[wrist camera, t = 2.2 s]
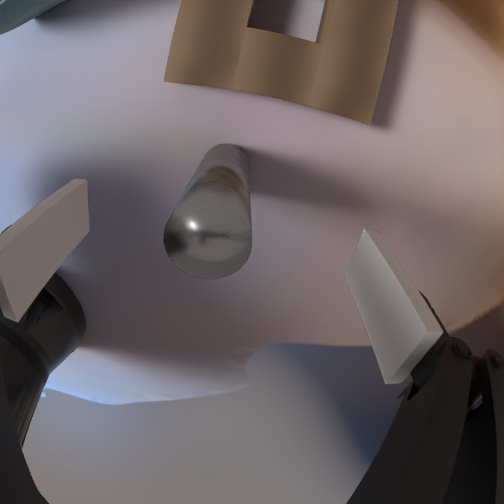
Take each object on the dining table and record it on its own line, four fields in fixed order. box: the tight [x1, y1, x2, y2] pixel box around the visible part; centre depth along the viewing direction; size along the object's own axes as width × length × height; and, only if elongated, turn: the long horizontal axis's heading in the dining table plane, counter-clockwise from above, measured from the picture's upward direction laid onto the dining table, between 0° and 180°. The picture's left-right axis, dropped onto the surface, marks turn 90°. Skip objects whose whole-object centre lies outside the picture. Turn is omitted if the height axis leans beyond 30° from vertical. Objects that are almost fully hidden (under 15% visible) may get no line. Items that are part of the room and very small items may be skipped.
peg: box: [164, 144, 252, 279], centre depth 17 cm, size 4×4×12 cm
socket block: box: [164, 0, 399, 125], centre depth 14 cm, size 14×14×3 cm
